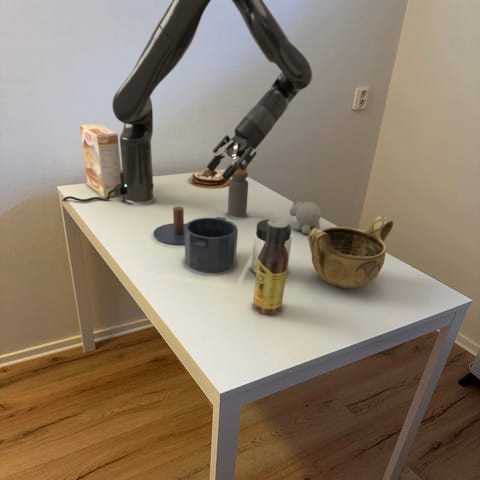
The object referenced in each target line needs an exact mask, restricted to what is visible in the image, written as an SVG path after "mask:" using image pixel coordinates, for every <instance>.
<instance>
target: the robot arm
mask: <svg viewBox="0 0 480 480" xmlns="http://www.w3.org/2000/svg"><path fill="white" fill-rule="evenodd" d="M211 1H212V0H172V1H171V2H170V4H169V5H168V7H167V8H166V10H165V12H164V13H163V15H162V17H161V18H160V20H159V21H158V23H157V25H156V27H155V28H154V30H153V32H152V34H151V35H150V37H149V40H148V41H147V43H146V45H145V46H144V48H143V50H142V52H141V53H140V56H139V57H138V60H137V62H136V64H135V66H134V67H133V69H132V70H131V72H130V73H129V75H128V76H127V77H126V79H125V81H124V82H123V83H122V84H121V86H120V87H119V88H118V90H117V91H116V93H115V94H114V95H113V98H112V102H111V103H112V107H111V108H112V112H113V115H114V116H115V118H116V119H117V120H118V121H119V122H121V123H122V124H123V129H122V131H121V133H120V134H119V148H120V160H121V171H120V179H121V184H119V185H117V186H116V187H114V189H113V190H111V191H110V192H109V193H108V197H100V196H93V197H89V198H78V197H75V196H71V195H69V196H65V197H64V198H62V200H61V201H62V202H65V201H66V200H69V199H70V200H74V201H77V202H90V201H93V200H94V201H95V200H98V201H99V200H100V201H104V202H106V201H109V200H110V198H111V196H110V194H111V193H112V192H114V193H115V195H116V196H117V197H118V196H119V197H121V200H122V202H125V203H127V204H130V205H134V204H135V205H145V204H149V203H152V202H155V196H154V195H155V194H154V186H155V185H154V177H153V174H154V173H153V157H152V138H153V133H154V128H153V127H154V118H153V117H154V115H153V103H152V102H153V101H152V99H151V96H152V94H153V92H154V91H155V89H156V88H157V87H158V86H159V85H160V83H162V81H163V80H164V79H165V78H166V77H168V75H169V74H171V72H172V71H173V70H174V69H175V68H176V67H177V65H179V63H180V62H181V60H182V58H184V56H185V54H186V53H187V51H188V49H189V48H190V47H191V44H192V42H193V41H194V38H195V36H196V34H197V31H198V28H199V25H200V23H201V19H202V18H203V14H204V13H205V11H206V9H207V7H208V6H209V4H210V3H211ZM231 2H232V3H233V5H234V6H235V8H236V9H237V11H238V13H239V14H240V16H241V18H242V20H243V22H244V24H245V26H246V28H247V30H248V33H249V34H250V36H251V38H252V39H253V41H254V43H255V44H256V45H257V47H258V49H259V50H260V51H261V53H262V54H263V55H264V57H265V59H266V60H267V61H268V63H270V64H275V66H277V67H278V69H279V70H280V71H281V72H280V73H279V75H278V76H277V77H276V79H275V80H274V82H273V83H272V85H271V86H270V87H269V88H268V90H267V91H266V92H265V93H264V94H263V95H262V97H261V98H260V99H259V100H258V101H257V103H255V105H253V106H252V107H251V108H250V110H248V112H247V113H246V114H245V116H244V117H243V118H242V119H241V120H240V122H239V123H238V124H237V125H236V127H235V128H234V130H233V131H234V136H233V137H230V136H229V135H228V134H226V135H224V137H223V138H222V139H221V140H220V142H218V144H217V145H216V146H215V147H214V148H213V150H212V152H213V154H214V156H213V157H212V159H211V160H210V161H209V162H208V163H207V165H206V168H207V170H210V171H212V172H213V171H216V169H217V168H218V166H219V165H220V164H221V162H222V161H224V160H225V159H227V160H228V159H232V160H231V163H230V164H229V165H228V166H227V168H225V170H224V171H223V172H222V177H223V178H224V179H225V180H226V181H228V180H231V179H232V175H233V174H234V173H235V172H236V171H238V170H240V169H241V170H242V171H243V170H245V168H246V167H248V166H249V165H250V163H251V162H252V161H253V159H254V158H255V157H256V156H257V154H258V153H257V152H256V149H257V148H258V146H259V145H260V144H261V143H262V142H263V140H264V139H266V137H267V136H268V134H269V133H270V132H271V131H272V129H273V128H274V126H276V123H277V122H278V120H279V119H280V118H281V117H282V116H283V115H284V113H285V112H286V111H287V109H288V108H289V104H290V103H291V102H292V101H293V100H294V99H295V97H296V96H297V95H298V94H299V93H300V92H301V91H303V90H304V89H306V88H308V86H309V85H310V84H311V82H312V80H313V69H312V66H311V63H310V62H309V61H308V58H306V56H305V55H303V53H302V52H301V51H300V50H299V49H298V48H297V47H296V45H294V44H293V43H292V42H291V41H290V39H289V37H288V36H287V35H286V33H285V32H284V30H283V28H282V27H281V25H280V23H279V22H278V21H277V19H276V18H275V16H274V15H273V13H272V12H271V11H270V10H271V9H269V8H268V6H267V4H266V3H265V1H264V0H231Z"/></svg>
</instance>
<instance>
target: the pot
mask: <svg viewBox="0 0 480 480" xmlns="http://www.w3.org/2000/svg"><path fill="white" fill-rule="evenodd" d="M185 224H186V225H185V245H184V263H185V265H186V266H187V267H188V268H189V269H192V270H193V271H195V272H201V273H205V274H218V273H223V272H228V271H229V270H231V269H233V268H234V267H235V266H236V264H237V252H238V251H237V249H238V235H239V234H238V232H239V230H238V226H237V225H236V224H235V223H233V222H232V221H231V220H227V218H226V217H223V216H216V217H201V218H195V219H193V220H190V221H188V222H187V223H185Z"/></svg>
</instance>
